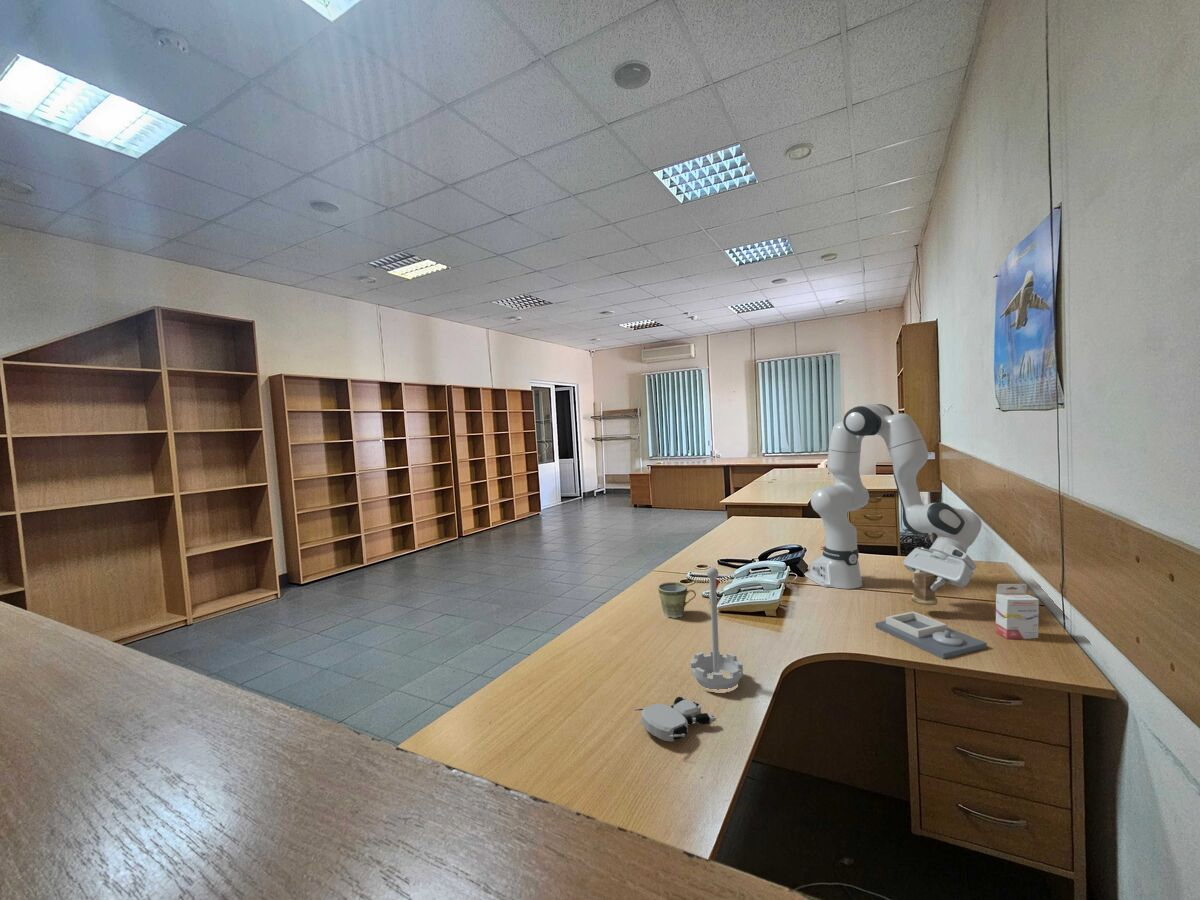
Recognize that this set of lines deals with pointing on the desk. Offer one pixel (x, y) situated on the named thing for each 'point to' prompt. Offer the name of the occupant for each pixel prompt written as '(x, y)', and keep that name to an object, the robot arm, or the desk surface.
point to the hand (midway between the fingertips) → (922, 586)
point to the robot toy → (673, 718)
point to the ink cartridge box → (1016, 612)
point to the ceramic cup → (673, 598)
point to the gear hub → (923, 589)
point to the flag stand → (716, 652)
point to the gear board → (930, 635)
